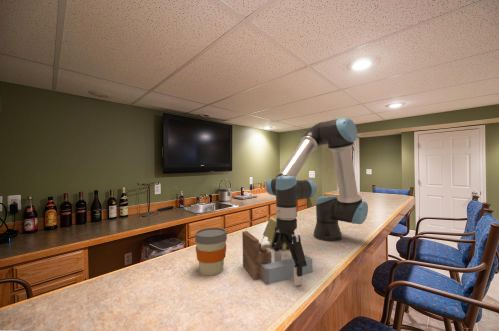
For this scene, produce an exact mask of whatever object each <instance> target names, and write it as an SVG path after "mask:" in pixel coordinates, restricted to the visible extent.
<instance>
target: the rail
mask: <svg viewBox="0 0 499 331" xmlns="http://www.w3.org/2000/svg"><path fill="white" fill-rule="evenodd" d="M304 256H305V260H306V263H307V266H305V267H302V276H304V275H307V274H310V273H313V272H314V271H313V269H314V267H313V258H311V257H310V256H308V255H306V254H304ZM294 266H295V263H294V260H293V257H292V258H287V259H282V261H277V262H275V261H273V262H272V263H268V264H261V279H260V280H261V281H262V282H263V283H264V284H265V285H270V284H274V283H277V282H280V281H285V280H289V279H294Z"/></svg>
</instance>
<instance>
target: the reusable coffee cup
mask: <svg viewBox="0 0 499 331" xmlns="http://www.w3.org/2000/svg"><path fill="white" fill-rule="evenodd" d="M194 234H195V235H194V242H195V245H196V246H195V253H196V259H197V261H198V266H199V272H200V274H201V275H204V276H209V277H210V276H215V275H216V276H217V275H218V274H220V273H222V272H223V271H224V264H225V263H224V262H225V259H226V253H227V240H228V236H227V230H226V229H225V228H222V227H206V228H202V229H201V228H200V229H199V230H197V231H196V232H195V233H194Z"/></svg>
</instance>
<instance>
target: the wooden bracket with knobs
mask: <svg viewBox="0 0 499 331" xmlns="http://www.w3.org/2000/svg"><path fill="white" fill-rule="evenodd" d="M241 234H242V235H241V236H242V266H243V268H244V269H245V270H246V272H247V273H248V274H249V276H250V277H251V278H252V279H253V280H254V281H257V280H261V264H268V263H273V262H272V260H273V259H272V258H273V257H272V251H271V250H270V249H269V248H267V247H265V246H262V243H261V241H260V240H259V239H258V238H257V237H255V236H254V235H253V234H251V233H250V232H248V231H247V230H245V231H242V232H241Z"/></svg>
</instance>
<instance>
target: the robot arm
mask: <svg viewBox="0 0 499 331" xmlns="http://www.w3.org/2000/svg"><path fill="white" fill-rule="evenodd" d="M357 138H358V129H357V126H356V124H355V122H354V121H353V120H352V119H351V118H350V117H341V118H339V117H338V118H336V119H332V120H326V121H320V122H318V123H316V124H314V125H312V127H310V128H309V129H308V130H307V131H306V132H305V133H304V134H303V135H302V137H301V138H300V139H299V140H300V141H299V144H298V146H297V147H296V149H295V150H294V151H293V153H292V154H291V155H290V156H289V158H288V160H287V161H286V162H285V164H284V165H283V167H282V168H281V170H280V171H279V173H278V174H277V175H276V177H275V178H270V179H268V180H267V182H266V184H265V190H266V193H267V194H269V195H270V196H275V201H276V202H275V206H276V209H275V212H276V215H275V217H276V218H277V219H276V227H275V233H274V237H273V240H272V244H270V245H271V246H270V247H272V248H273V251H274V262H277V261H282V260H283V258H282V247H283V246H282V245H283V243H285V244H287V247H286V248H288V247H289V248H288V249H289V251H290V254H291V257H292V258H293V260H294V263H295V266H294V277H293V285H294V286H295V287H297V286H301V285H303V275H302V267H305V266H307V263H306V260H305V256H304V255H305V253H304V249H303V246H302V240H301V235H300V234H297V235H296V234H295V231H296V230H297V228H298V220H297V217H298V211H297V210H298V209H297V208H298V207H297V201H300V200H308V199H310V198H314V197H315V196H316V195H317V191H318V189H317V185H316V183H315V182H314V181H313V180H310V179H297V177H298V175H299V173H300V172H301V170H302V169H303V167H304V165H305V164H306V163H307V161H308V160H309V158H310V156H311V155H312V153H313V151H316V150H317V149H318V148H319V147H321V146H323V145H324V146H325V145H327V146H328V147H327V148H328V150H330V151H331V152H332V158H333V164H334V170H335V176H336V183H337V188H338V196H337V195H324V196H318V197H317V198H316V200H315V211H316V212H315V213H316V214H315V215H316V217H315V218H316V219H315V220H316V223H315V226H314V230H313V237H314V238H315V239H318V240H320V241H328V242H335V241H337V242H338V241H340V240H342V238H343V234H342V232H341V228H340V225H339V221H340V222H344V223H349V224H354V225H355V224H356V225H362V224H363V223H364V222H366V219H367V217H368V212H369V205H368V203H367V201H363V198H362V196H361V194H359V193H358V188H357V187H358V186H357V181H356V175H355V168H354V161H353V155H352V154H353V153H352V148H353V146H354V142H355V141H356V140H357Z"/></svg>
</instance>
